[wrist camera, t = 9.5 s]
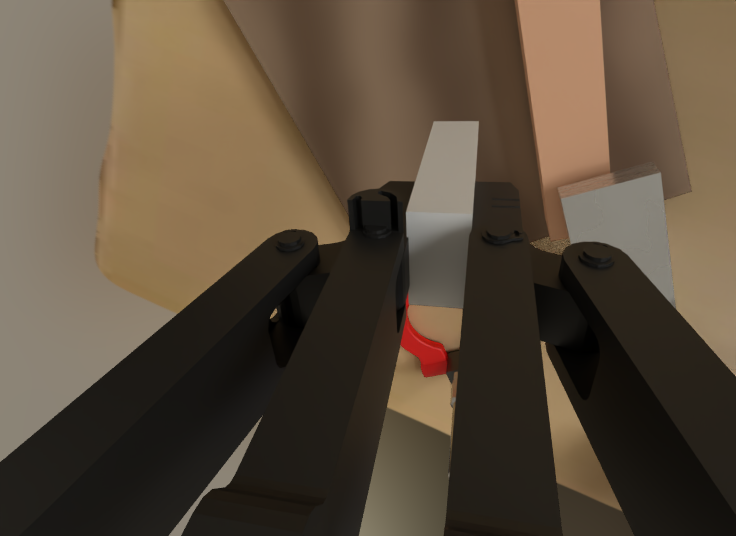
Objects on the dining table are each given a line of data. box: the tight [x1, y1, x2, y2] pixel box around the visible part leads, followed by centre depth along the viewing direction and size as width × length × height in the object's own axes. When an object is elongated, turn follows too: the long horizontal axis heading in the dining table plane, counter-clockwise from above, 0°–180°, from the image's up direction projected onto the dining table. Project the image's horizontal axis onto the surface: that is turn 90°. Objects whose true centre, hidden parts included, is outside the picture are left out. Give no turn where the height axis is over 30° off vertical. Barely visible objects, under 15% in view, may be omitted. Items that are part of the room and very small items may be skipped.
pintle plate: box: [223, 0, 692, 242], centre depth 25 cm, size 18×20×2 cm
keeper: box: [557, 162, 676, 309], centre depth 26 cm, size 10×4×6 cm, turn 23°
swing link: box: [514, 0, 610, 241], centre depth 20 cm, size 18×5×4 cm, turn 19°
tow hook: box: [400, 295, 460, 477], centre depth 30 cm, size 8×13×9 cm
